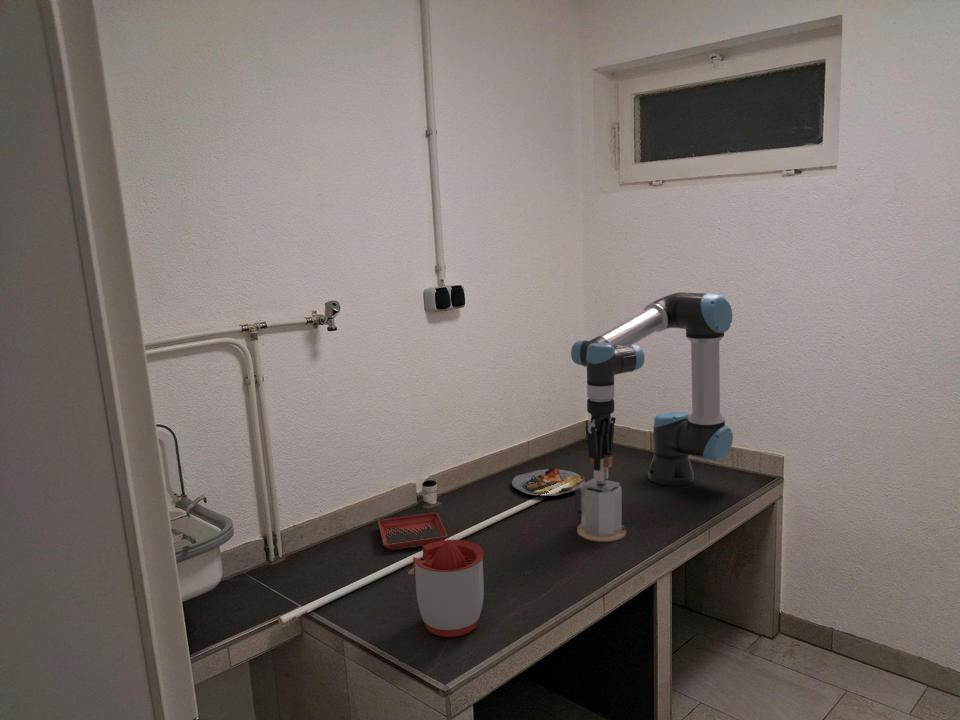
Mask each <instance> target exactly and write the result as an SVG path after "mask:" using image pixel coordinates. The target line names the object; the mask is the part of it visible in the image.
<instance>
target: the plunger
mask: <svg viewBox="0 0 960 720" xmlns="http://www.w3.org/2000/svg"><path fill="white" fill-rule="evenodd" d="M602 459H603V464H604V467H607V468H608V469H609V468H611V467H613V455H605V454H602ZM589 465H593V466H594V459H593V458H589ZM606 480H607V479H604V481H603V482H601V481H597V484H599V485H604V484H606ZM599 492H601V491H599Z"/></svg>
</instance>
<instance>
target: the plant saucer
mask: <svg viewBox="0 0 960 720" xmlns="http://www.w3.org/2000/svg"><path fill="white" fill-rule="evenodd" d="M377 523H378V527H379V531H380V532H379V533H380V536H381V537H380V538H381V539H382V540H381V541H382V545H383V546H384V547H385V548H386V549H388V550H389V549H396V548H403V547H410V546H417V545H426V544H429V543H432V542H436V541H442V540H446V539H447V537H448V534H447V531H446V529H445V527H444V525H443V523H442V520H441V518H440V516H439V513H437V512H430V513H429V512H428V513H424V514H423V513H421V514H415V515H409V516H408V515H407V516H399V517H393V518H385V519H380V520H378V521H377ZM428 523H429V524H428ZM425 524H426V526H427V525H428V527H430V529H433V527H435V528H436V530H437V531H438V533H439V535H440V537H435V538H427V539H420V540H413V541H406V542H399V543H392V544H388V543H387V538H386V535H387V534H388V533H389V535H390V534H391V533H393V532H394V531H395V530H396V529H397V528H398V527H399V529H401V530H403V531H405V532H407V531H408V530H409V531H411V532H413V533H414V531H416V532H418V531H419V530H420V531H421V529H423V530H424V527H425V529H427V527H426V526H425ZM430 524H431V525H430ZM432 525H433V526H432ZM422 526H423V527H422ZM396 527H397V528H396ZM387 528H390V529H391V530H389V529H387ZM392 528H395V530H394V529H392ZM404 528H405V529H407V531H406V530H405V529H404ZM410 528H411V529H410ZM415 528H416V529H418V531H417V530H416V529H415ZM420 528H421V529H420ZM385 529H386V530H387V531H386V530H385ZM392 530H393V532H392ZM413 530H414V531H413ZM388 531H389V532H388ZM397 531H399V532H401V533H403V532H402V531H400V530H398V529H397ZM397 531H395V532H397ZM390 532H391V533H390ZM421 532H422V531H421ZM386 533H387V534H386ZM407 533H408V532H407ZM418 533H419V532H418ZM393 534H394V533H393ZM403 534H404V533H403ZM409 534H411V533H409ZM415 534H416V533H415ZM389 535H387V536H389ZM395 535H396V534H395ZM405 535H406V534H405ZM411 535H412V534H411ZM416 535H417V534H416ZM391 536H392V534H391ZM389 537H390V536H389ZM421 537H422V536H421Z"/></svg>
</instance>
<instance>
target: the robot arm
mask: <svg viewBox="0 0 960 720" xmlns="http://www.w3.org/2000/svg"><path fill="white" fill-rule="evenodd" d="M732 322H733V309H732V306H731V304H730V302H729V300H727V298H726V297H725V296H723V295H720V294H715V293H708V292H707V293H706V292H705V293H704V292H687V291H686V292H681V291H680V292H674V293H671V294H668V295H666V296H663V297H661V298H659V299H656V300H653V302H651V303H649V304H647V305H646V306H645V307H644V308H643V311H641V312H638V313H637V314H636V315H634V316H632V317H630V318H628V319H626V320H625V321H623V322H621V323H619V324H618V325H615V326H614V327H612V328H610V329H609V330H607V331H605V332H603V333H601V334H600V335H597V336H596V337H594V338H592V339H590V340H586V339H585V340H576V341H575V342H574V344H572V347H571V350H570V356H571V360H572V362H573V363H574V364H576V365H578V366H582V367H584V368H585V367H586V390H587V391H586V397H587V401H586V411H587V412H588V413H589V414H590V415H591V417H590V424H589V425H586V426H585V428H584V429H585V433H586V437H587V438H586V439H587V449H588V451H587V452H588V458H589V459H590V458H593V459H594V465H593V478H594V480H596V481H601V482H603V481H604V480H608V479H609V468H607V467H604V464H603V459H602V454H605V455H611V456H613V453H612V452H613V450H614V437H615V436H614V434H615V433H614V431H615V423H616V419H617V418H616V417H615V416H614V417H613V416H612V414H613V413H614V412H615V400H614V398H615V376H616V375H621V374H624V373H632V372H634V371H637V370H639V369H641V368H642V367H643V366H644V363H645V352H644V351H643V349H642V348H641V346H639V345H637V343H638V342H639V341H642V340H643V339H645V338H646V337H648V336H650V335H652V334H653V333H655V332H658V333H660V332H663V331H665V330H666V329H683V330H685V337H686V339H688V340H689V342H690V353H691V355H690V356H691V358H690V359H691V361H690V362H691V411H692V413H691V414H690V413H688V411H687V412H686V411H668V412H663V413H658V414H657V415H655V417H654V419H653V422H654V423H653V427H652V428H653V458H652V460H651V464H650V465H649V468H648V471H647V472H648V473H647V475H648V477H647V478H648V479H649V481H651V482H653V483H655V484H658V485H661V486H662V485H663V486H671V487H672V486H673V487H678V486H686V485H689V484H691V483H692V482H693V481H694V475H695V473H694V469H693V468H692V464H691V461H690V456H692V457H696V458H700V459H703V460H704V461H712V462H718V461H721V460H722V459H724V458H725V457H726V456H727V454H729V451H730V450H731V448H732V446H733V445H732V444H733V441H734V434H733V433H734V432H733V431H732V429H731V428H730V427H728V426H726V418H725V416H723V415H722V414H721V399H720V398H721V396H720V395H721V392H720V389H721V388H720V387H721V386H720V385H721V382H720V380H721V379H720V341H721V340H722V339H723V338H724V337H725V332H727V331H729V329H730V328H731V324H732Z"/></svg>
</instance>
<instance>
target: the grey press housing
mask: <svg viewBox="0 0 960 720" xmlns="http://www.w3.org/2000/svg"><path fill="white" fill-rule="evenodd" d="M605 480H606V484H604V485H599V484H597V481H596V480H594V477H593V478H591V479H590V480H586V483H584V484H582V485H581V488H577V489H575V491H574V508H575V509H574V513H575V517H581V522H580V524H578V525H577V527H576V533H577V535H578V536H579V537H580V538H581V539H584V540H587V541H591V542H594V543H595V542H596V543H612V542H617V541H620V540H623V538H625V537H626V535H627V528H626V527H625V525H623V524H622V520H623V519H622V515H623V514H622V513H623V511H622V509H623V507H622V506H623V505H622V504H623V503H622V496H623V495H622V493H623V492H622V489H623V488H622V486H621V485H620V482H617V481H614V480H608V479H605ZM599 491H601V492H599Z"/></svg>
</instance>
